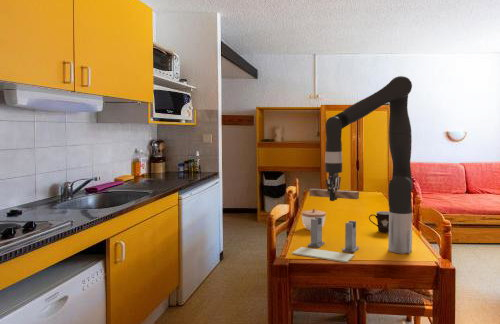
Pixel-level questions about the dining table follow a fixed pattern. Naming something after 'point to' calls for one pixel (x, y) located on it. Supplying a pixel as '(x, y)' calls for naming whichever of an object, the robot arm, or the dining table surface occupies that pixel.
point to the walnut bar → (337, 193)
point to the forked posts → (349, 235)
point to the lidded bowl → (312, 217)
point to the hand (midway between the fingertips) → (333, 200)
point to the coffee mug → (382, 221)
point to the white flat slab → (323, 254)
